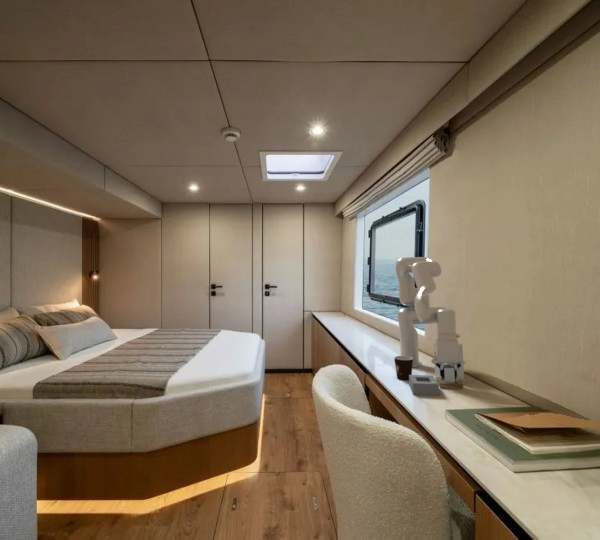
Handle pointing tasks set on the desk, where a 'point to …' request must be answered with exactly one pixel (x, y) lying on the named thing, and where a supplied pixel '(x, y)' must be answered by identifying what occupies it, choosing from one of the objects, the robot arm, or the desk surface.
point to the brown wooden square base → (449, 384)
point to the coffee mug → (403, 367)
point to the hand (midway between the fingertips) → (448, 378)
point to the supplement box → (460, 370)
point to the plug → (449, 374)
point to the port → (423, 385)
